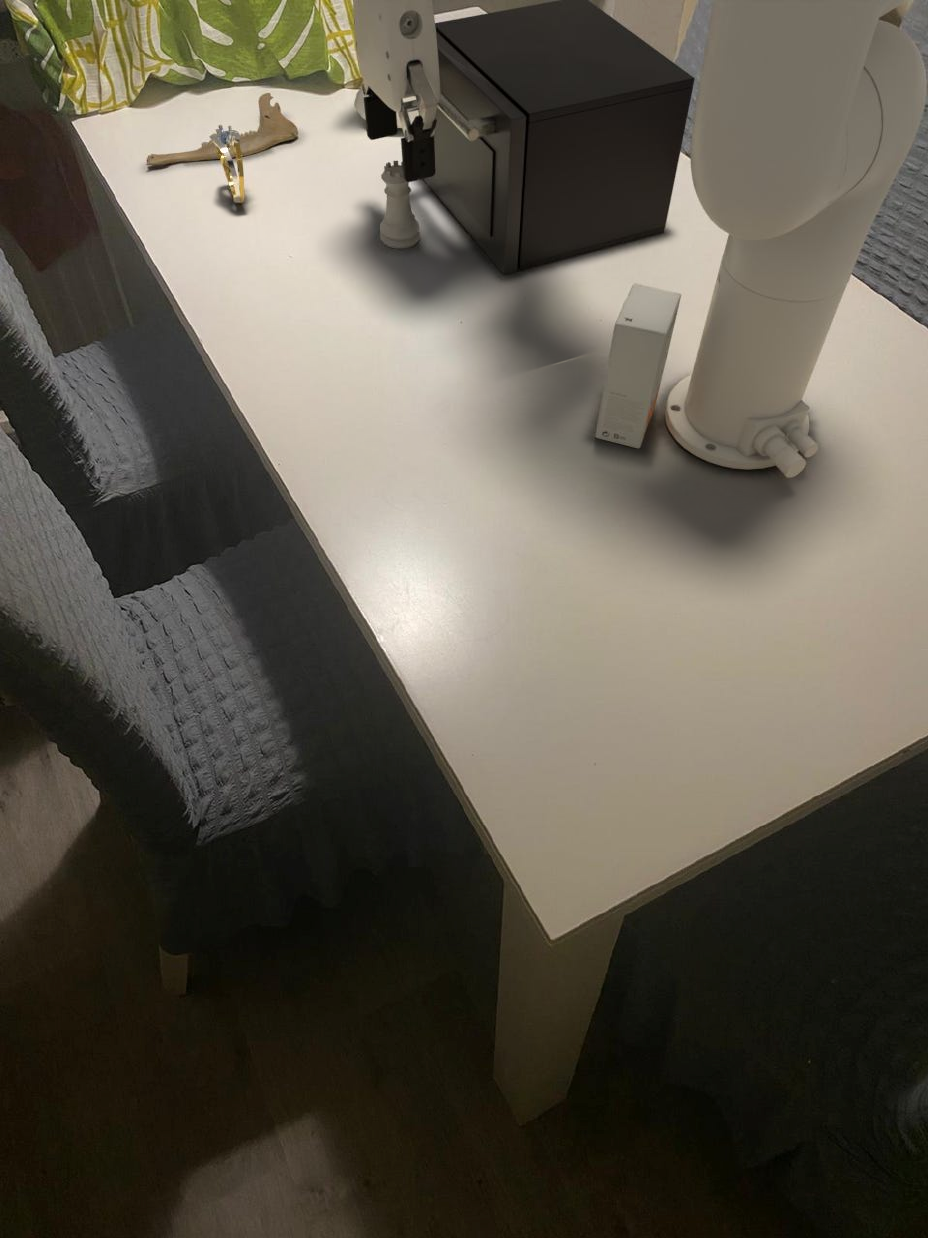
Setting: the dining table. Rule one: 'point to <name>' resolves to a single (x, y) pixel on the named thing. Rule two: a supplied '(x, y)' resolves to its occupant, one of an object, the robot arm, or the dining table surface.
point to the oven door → (479, 157)
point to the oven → (582, 123)
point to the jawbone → (241, 137)
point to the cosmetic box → (636, 364)
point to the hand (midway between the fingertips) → (400, 156)
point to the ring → (230, 160)
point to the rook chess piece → (398, 210)
